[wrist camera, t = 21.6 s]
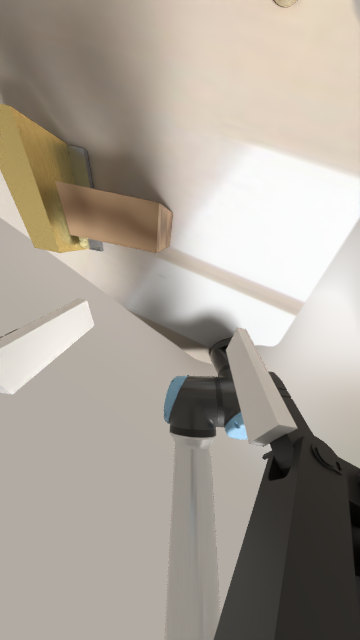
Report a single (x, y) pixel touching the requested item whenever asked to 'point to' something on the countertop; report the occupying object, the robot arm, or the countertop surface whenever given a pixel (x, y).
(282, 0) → the flower pot
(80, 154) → the cradle
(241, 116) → the countertop surface
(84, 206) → the brown wooden block
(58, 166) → the bar
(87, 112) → the countertop surface
